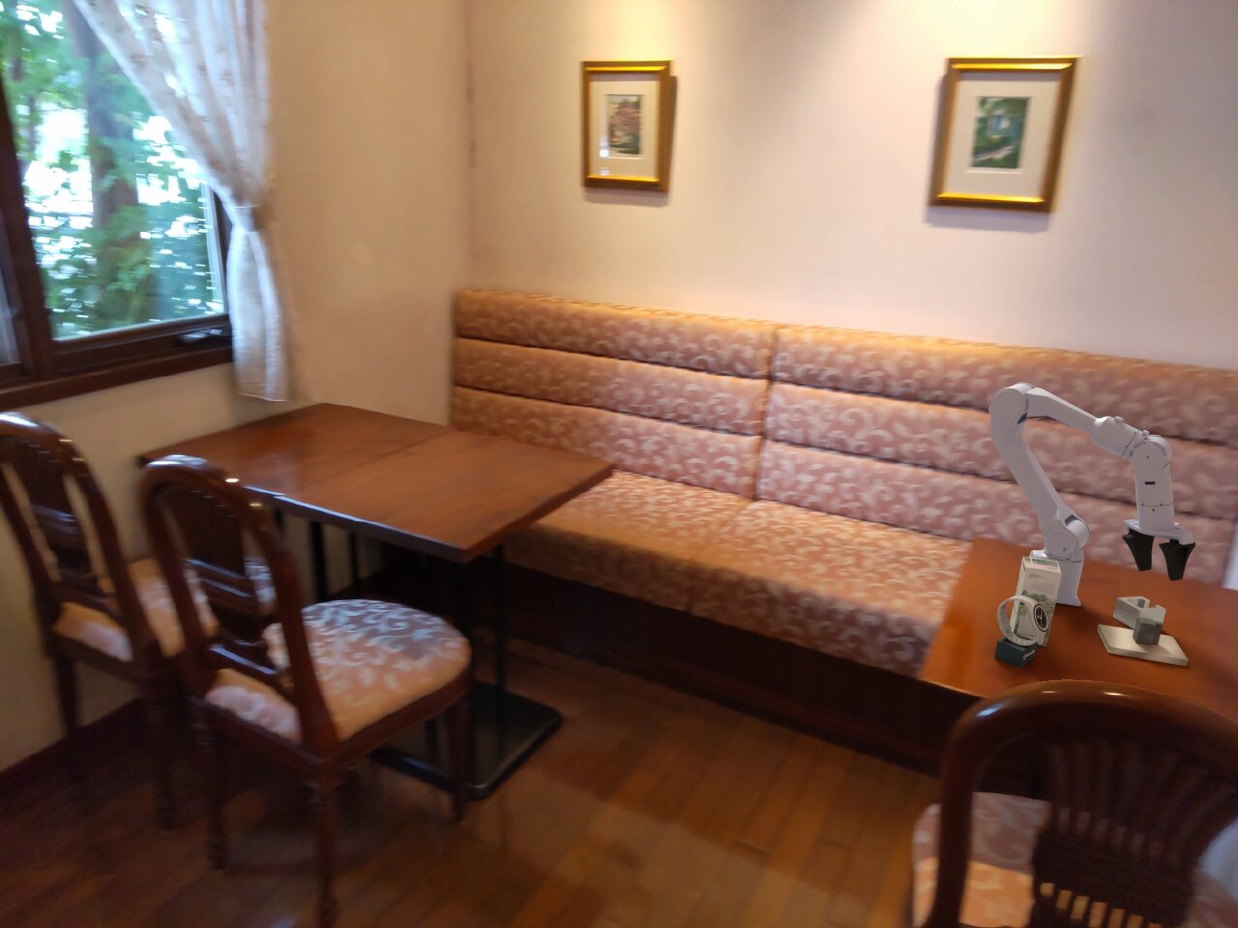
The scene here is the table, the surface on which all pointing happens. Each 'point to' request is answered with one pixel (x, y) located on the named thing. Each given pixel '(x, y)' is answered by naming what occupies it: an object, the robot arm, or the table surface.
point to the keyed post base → (1142, 642)
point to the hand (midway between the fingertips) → (1160, 574)
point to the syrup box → (1035, 593)
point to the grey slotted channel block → (1137, 610)
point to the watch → (1017, 646)
